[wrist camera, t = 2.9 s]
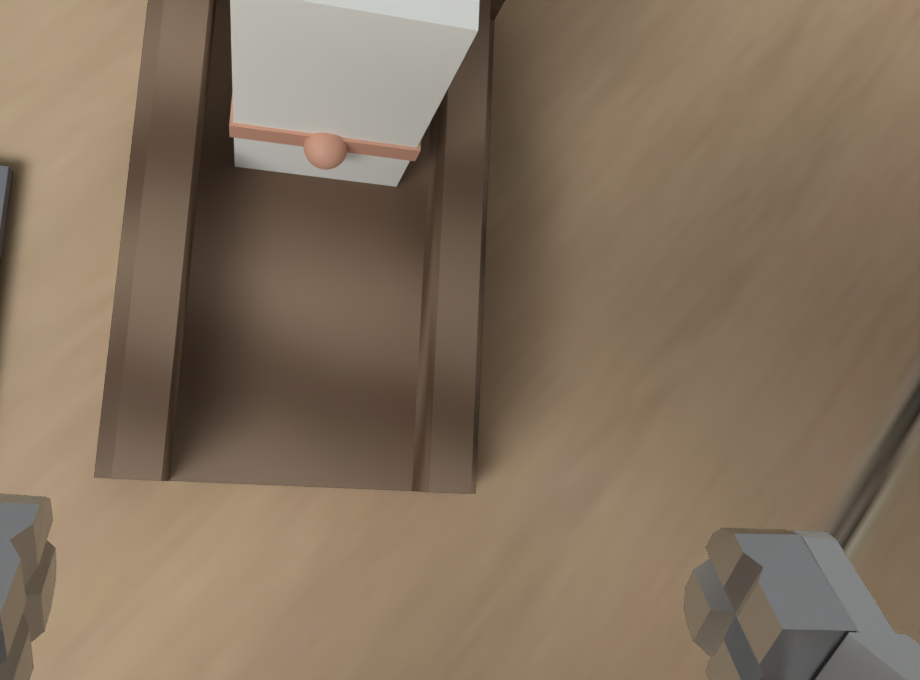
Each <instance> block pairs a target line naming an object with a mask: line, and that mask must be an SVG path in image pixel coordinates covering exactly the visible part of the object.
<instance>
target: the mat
mask: <svg viewBox="0 0 920 680" xmlns="http://www.w3.org/2000/svg"><path fill="white" fill-rule="evenodd" d="M12 175H13V172H12V170H11V169H10V168H9V166H1V165H0V263H1V255H2V248H3V241H4V233H5V226H6V219H7V211H8V204H9V197H10V189H11V182H12Z"/></svg>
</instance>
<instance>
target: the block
mask: <svg viewBox="0 0 920 680" xmlns="http://www.w3.org/2000/svg"><path fill="white" fill-rule="evenodd" d="M479 1H480V0H230V15H231V52H232V89H233V90H232V101H231V112H230V123H229V133H230V137H233V138H234V163H235V167H241V168H249V169H258V170H266V171H274V172H282V173H290V174H298V175H306V176H314V177H322V178H330V179H338V180H346V181H354V182H362V183H370V184H378V185H387V186H395V187H397V185H398V183H399V181H400V179H401V177H402V175H403V173H404V171H405V169H406V168H407V166H408V164H409V162H410V161H415V160H416V158H417V157H418V155H419V153H420V148H421V139H422V137H423V135H424V133H425V131H426V129H427V128H428V126H429V124H430V122H431V120H432V118H433V116H434V114H435V112H436V110H437V108H438V107H439V105H440V103H441V101H442V99H443V97H444V95H445V93H446V91H447V89H448V87H449V86H450V84H451V82H452V80H453V78H454V76H455V74H456V72H457V70H458V68H459V66H460V65H461V63H462V61H463V59H464V57H465V55H466V53H467V51H468V49H469V47H470V45H471V44H472V42H473V40H474V38H475V36H476V34H477V32H478V25H479Z"/></svg>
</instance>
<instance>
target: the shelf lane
mask: <svg viewBox="0 0 920 680" xmlns="http://www.w3.org/2000/svg"><path fill="white" fill-rule="evenodd" d="M504 1H505V0H480V1H479V25H478V32H477V34H476V36H475V38H474V40H473V42H472V44H471V45H470V47H469V49H468V51H467V53H466V55H465V57H464V59H463V61H462V63H461V65H460V66H459V68H458V70H457V72H456V74H455V76H454V78H453V80H452V82H451V84H450V86H449V87H448V89H447V91H446V93H445V95H444V97H443V99H442V101H441V103H440V105H439V107H438V108H437V110H436V112H435V114H434V116H433V118H432V120H431V122H430V124H429V126H428V128H427V129H426V131H425V133H424V135H423V137H422V139H421V148H420V153H419V155H418V157H417V158H416V160H415V161H410V162H409V164H408V166H407V168H406V169H405V171H404V173H403V175H402V177H401V179H400V181H399V183H398V185H397V187H395V186H387V185H378V184H370V183H362V182H354V181H346V180H338V179H330V178H322V177H314V176H306V175H298V174H290V173H282V172H274V171H266V170H258V169H249V168H241V167H235V163H234V138H233V137H230V133H229V123H230V112H231V101H232V90H233V89H232V52H231V15H230V0H148V4H147V13H146V21H145V30H144V39H143V48H142V57H141V66H140V74H139V83H138V92H137V101H136V110H135V119H134V127H133V136H132V145H131V154H130V163H129V172H128V181H127V189H126V198H125V207H124V216H123V225H122V234H121V242H120V251H119V260H118V269H117V278H116V287H115V295H114V304H113V313H112V322H111V331H110V340H109V349H108V357H107V366H106V375H105V384H104V393H103V402H102V410H101V419H100V428H99V437H98V446H97V455H96V463H95V472H94V478H111V479H130V480H154V481H188V482H212V483H235V484H259V485H282V486H306V487H329V488H353V489H376V490H400V491H419V492H437V493H460V494H476V472H477V447H478V421H479V396H480V370H481V345H482V319H483V294H484V269H485V243H486V218H487V192H488V167H489V141H490V116H491V91H492V65H493V40H494V19H495V18H496V16H497V14H498V12H499V10H500V8H501V7H502V5H503V3H504Z"/></svg>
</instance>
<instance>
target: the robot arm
mask: <svg viewBox="0 0 920 680" xmlns="http://www.w3.org/2000/svg"><path fill="white" fill-rule="evenodd" d="M52 522H53V516H52V508H51V500H50V499H49V498H47V497H42V496H28V495H13V494H0V680H30V677H31V674H32V671H33V668H34V665H33V656H32V646H31V642H32V641H34V640H35V639H36V638H37V637H38V636H39V635H41V634H42V633H43V632H44V631H45V628H46V624H47V621H48V617H49V614H50V610H51V605H52V600H53V594H54V588H55V582H56V549H55V547H54V546H53V545H52V544H51V543H50V542H49V541H47V537H48V534H49V531H50V528H51V525H52ZM706 550H707V552H708V555H709V557H710V559H709V560H707V561H706V562H704V563H703V564H701V565H700V566H698V567H697V568H695V569H694V570H693V572H692V574H691V576H690V578H689V581H688V583H687V585H686V587H685V598H684V611H685V617H686V623H687V626H688V629H689V631H690V634H691V637H692V639H693V641H694V642H695V643H696V644H697V645H698V646H699V647H700V648H701V649H703V650H704V651H705V652H706V653H707V654H708V655H709V656H710V658H709V661H708V665H707V668H706V671H705V672H706V674H707V677H708V679H709V680H920V644H918V643H917V642H916V641H914V640H913V639H912V638H910V637H909V636H908V635H906V634H899V633H895V632H894V631H893V629H892V627H891V626H890V624H889V623H888V621H887V619H886V618H885V616H884V615H883V613H882V612H881V610H880V608H879V607H878V605H877V604H876V602H875V600H874V599H873V597H872V596H871V594H870V592H869V591H868V589H867V588H866V586H865V584H864V583H863V581H862V580H861V578H860V576H859V575H858V573H857V572H856V570H855V569H854V567H853V565H852V564H851V562H850V561H849V559H848V557H847V556H846V554H845V553H844V551H843V549H842V548H841V546H840V545H839V543H838V541H837V540H836V539H835V538H834V537H833V536H831V535H830V534H829V533H827V532H824V531H799V530H791V531H788V530H778V529H749V528H720V529H719V530H718V531H716V532H715V533H713V534H712V536H711V538H710V540H709V542H708V543H707V545H706Z"/></svg>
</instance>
